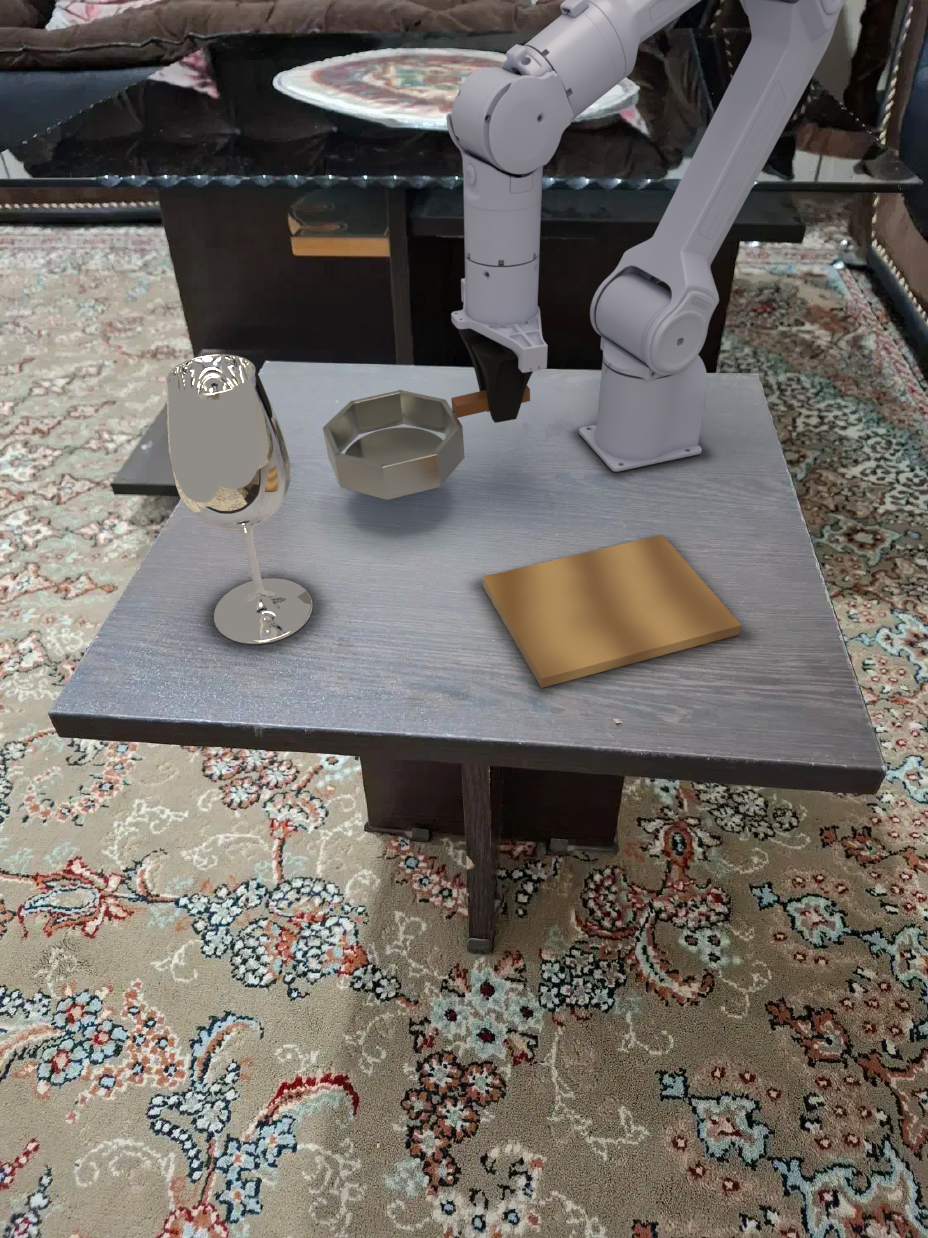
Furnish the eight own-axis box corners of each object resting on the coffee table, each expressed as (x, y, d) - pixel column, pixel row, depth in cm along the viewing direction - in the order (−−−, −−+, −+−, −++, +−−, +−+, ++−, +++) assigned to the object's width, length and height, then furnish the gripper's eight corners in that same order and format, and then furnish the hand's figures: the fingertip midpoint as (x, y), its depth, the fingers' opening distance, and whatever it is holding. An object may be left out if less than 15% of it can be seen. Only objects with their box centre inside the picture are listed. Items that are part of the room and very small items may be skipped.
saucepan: (505, 399, 83) (504, 356, 80) (551, 461, 76) (552, 416, 72) (321, 441, 80) (312, 398, 77) (349, 511, 72) (341, 466, 69)
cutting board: (661, 543, 75) (662, 534, 75) (739, 634, 67) (741, 624, 66) (482, 586, 71) (482, 576, 71) (541, 688, 63) (541, 678, 62)
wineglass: (199, 600, 71) (133, 363, 57) (292, 568, 73) (249, 336, 60) (231, 660, 66) (166, 415, 52) (330, 623, 68) (292, 383, 55)
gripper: (424, 229, 72) (431, 383, 81) (484, 295, 62) (484, 464, 71) (506, 218, 74) (504, 371, 83) (577, 281, 64) (566, 448, 73)
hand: (500, 413), depth 77 cm, fingers closed on saucepan
